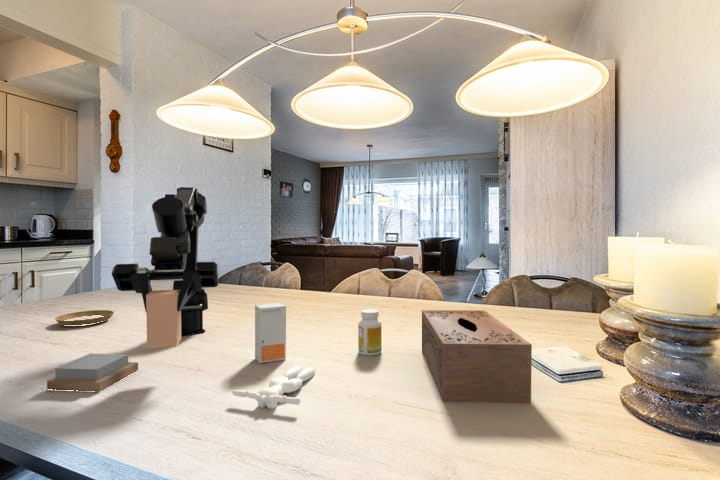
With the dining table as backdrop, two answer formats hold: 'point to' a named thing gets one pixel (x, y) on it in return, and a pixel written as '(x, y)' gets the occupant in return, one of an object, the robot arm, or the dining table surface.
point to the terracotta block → (163, 319)
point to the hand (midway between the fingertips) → (162, 311)
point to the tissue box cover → (476, 357)
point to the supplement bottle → (369, 333)
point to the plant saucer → (105, 313)
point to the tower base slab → (92, 384)
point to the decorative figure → (280, 388)
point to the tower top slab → (91, 367)
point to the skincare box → (270, 332)
